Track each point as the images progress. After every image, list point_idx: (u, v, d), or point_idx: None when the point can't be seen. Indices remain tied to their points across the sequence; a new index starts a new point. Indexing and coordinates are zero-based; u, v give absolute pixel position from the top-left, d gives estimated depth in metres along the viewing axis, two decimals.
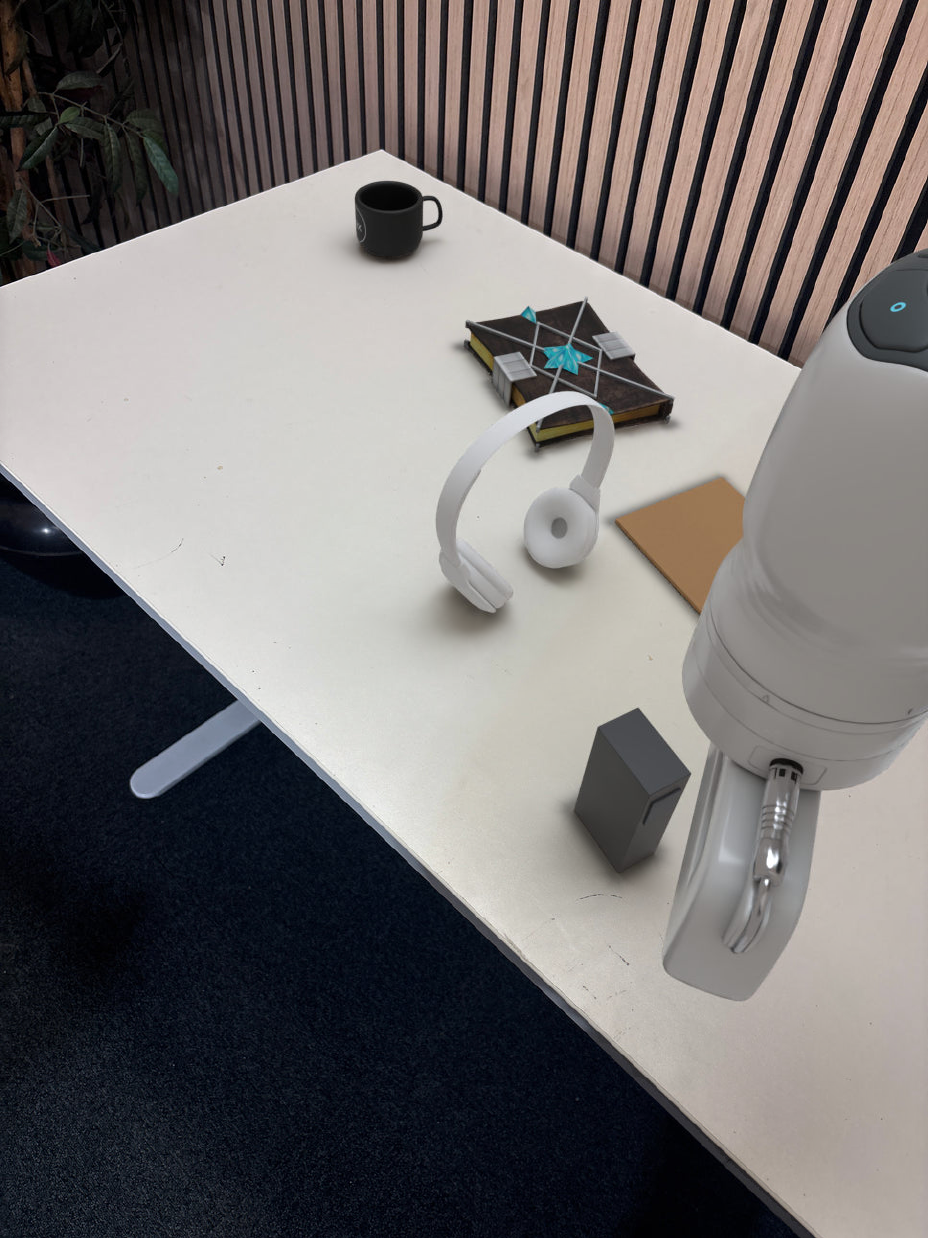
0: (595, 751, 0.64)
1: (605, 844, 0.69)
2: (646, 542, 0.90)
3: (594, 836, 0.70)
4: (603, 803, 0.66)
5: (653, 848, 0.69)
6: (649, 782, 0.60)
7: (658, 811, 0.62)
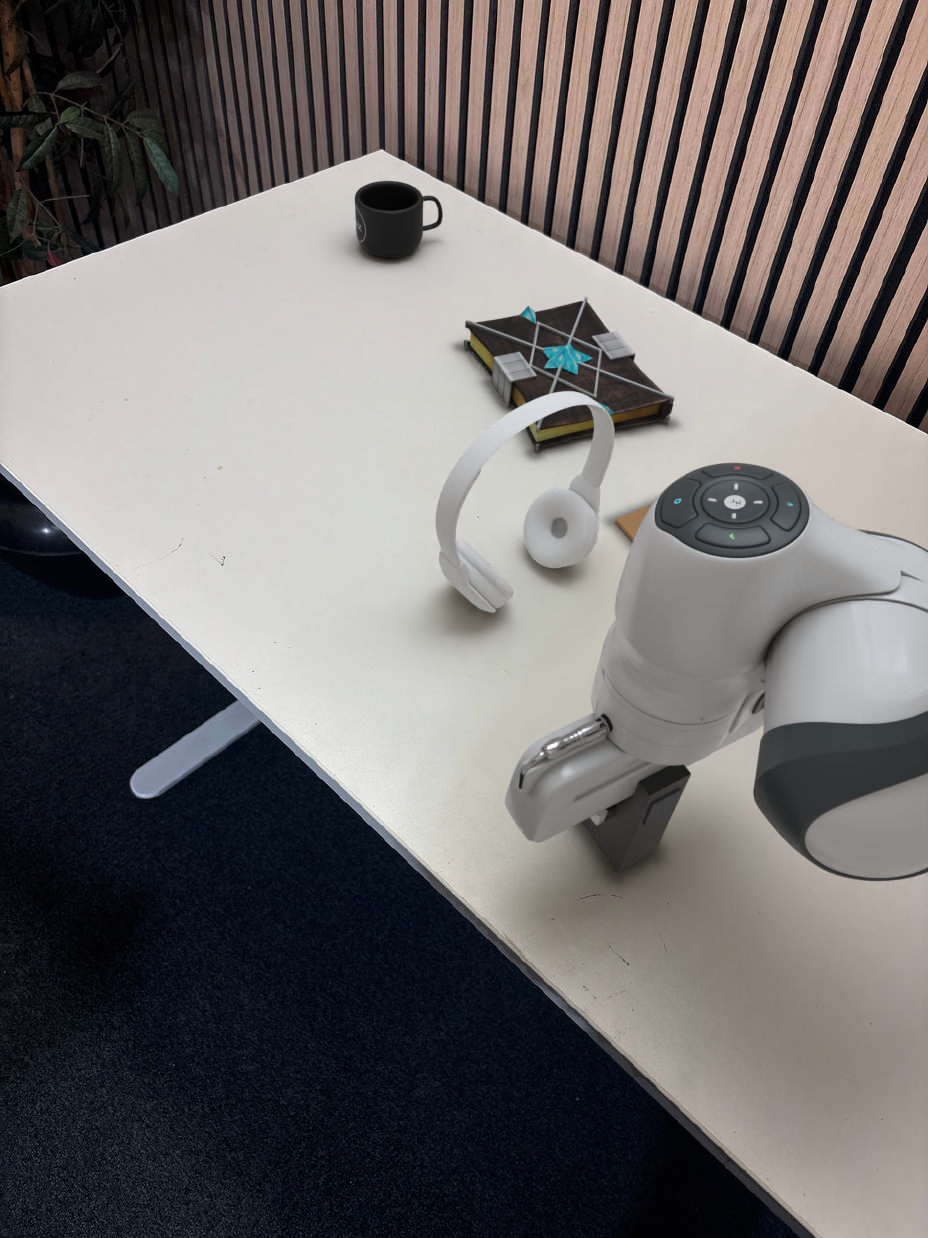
0: None
1: (605, 844, 0.69)
2: None
3: (594, 836, 0.70)
4: None
5: (653, 848, 0.69)
6: (649, 782, 0.60)
7: (658, 811, 0.62)
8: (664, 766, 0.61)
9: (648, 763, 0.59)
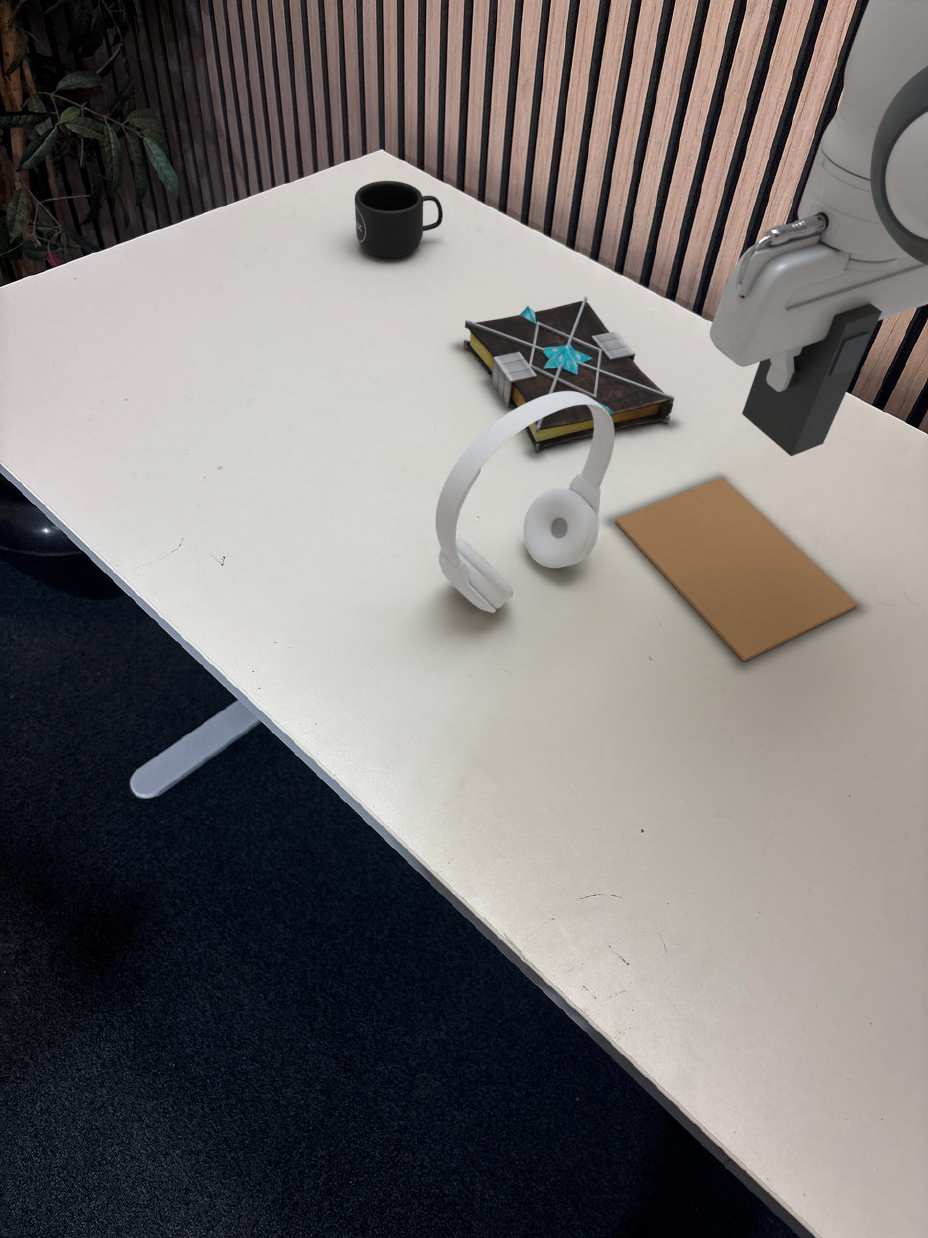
0: None
1: (779, 429, 0.73)
2: (646, 542, 0.90)
3: (765, 429, 0.74)
4: None
5: (824, 433, 0.73)
6: (844, 315, 0.64)
7: (846, 358, 0.66)
8: (857, 304, 0.64)
9: (847, 289, 0.63)
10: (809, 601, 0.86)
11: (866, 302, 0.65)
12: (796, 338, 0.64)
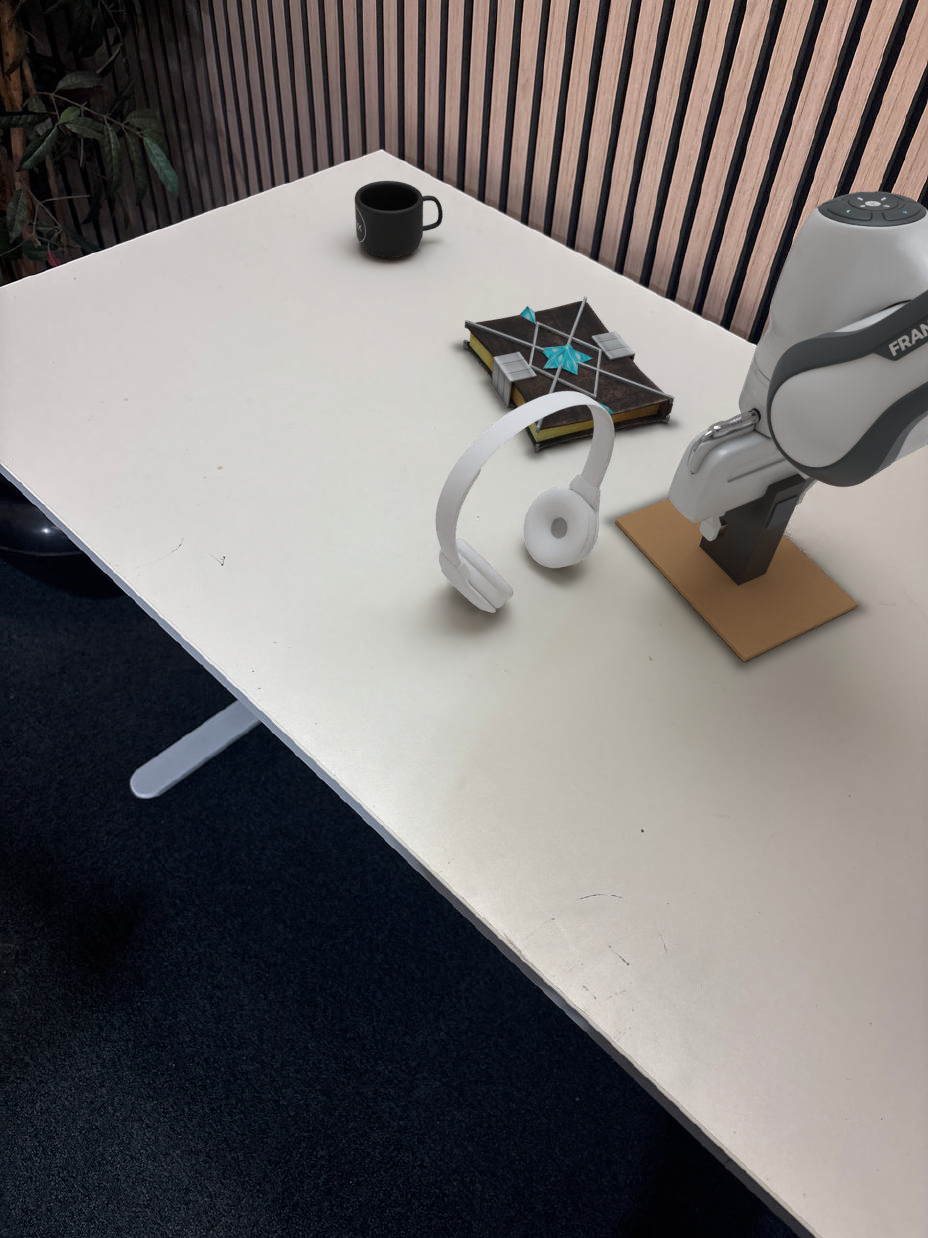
0: None
1: (728, 563, 0.87)
2: (646, 542, 0.90)
3: (717, 561, 0.89)
4: (730, 523, 0.85)
5: (766, 566, 0.87)
6: (775, 485, 0.79)
7: (779, 515, 0.81)
8: (789, 470, 0.79)
9: (780, 461, 0.77)
10: (809, 601, 0.86)
11: (797, 467, 0.79)
12: (739, 499, 0.78)
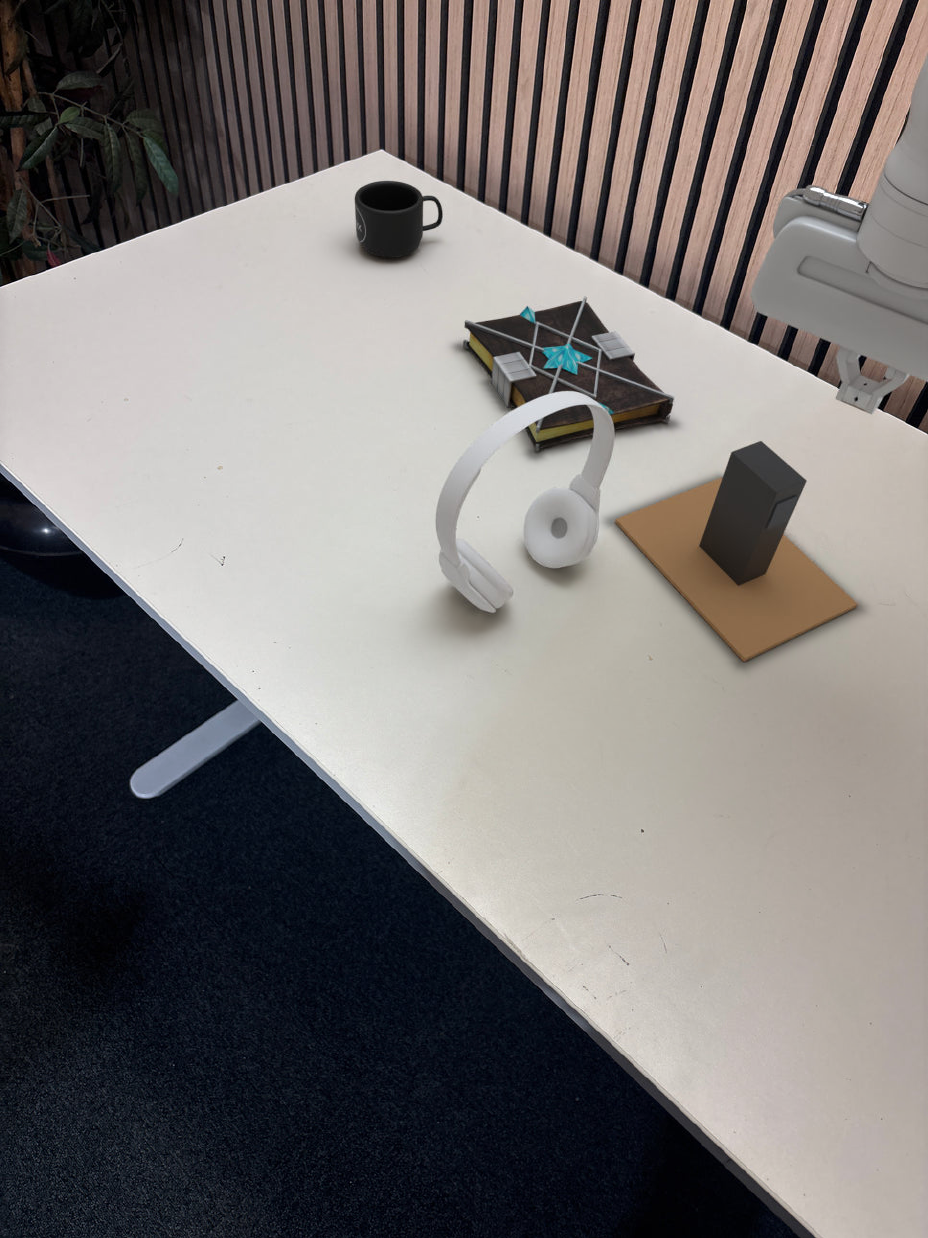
0: (727, 476, 0.83)
1: (728, 563, 0.87)
2: (646, 542, 0.90)
3: (717, 561, 0.89)
4: (730, 523, 0.85)
5: (766, 566, 0.87)
6: (775, 485, 0.79)
7: (779, 515, 0.81)
8: (888, 332, 0.63)
9: (875, 303, 0.62)
10: (809, 601, 0.86)
11: (900, 338, 0.63)
12: (811, 319, 0.66)
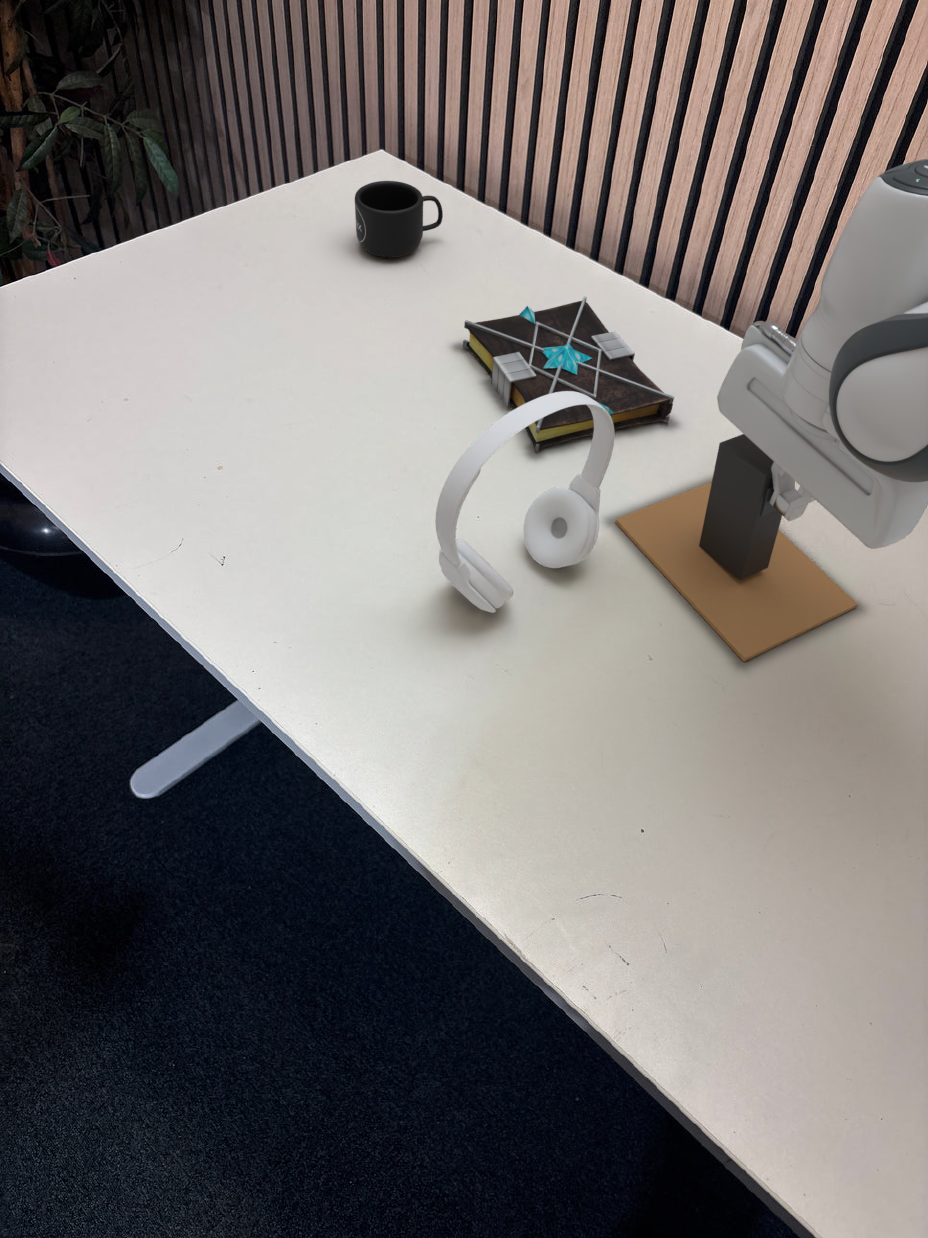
0: (718, 469, 0.84)
1: (728, 558, 0.87)
2: (646, 542, 0.90)
3: (718, 558, 0.88)
4: (726, 516, 0.85)
5: (767, 560, 0.87)
6: (764, 469, 0.79)
7: None
8: (800, 456, 0.74)
9: (794, 430, 0.74)
10: (809, 601, 0.86)
11: (807, 464, 0.73)
12: (752, 429, 0.78)
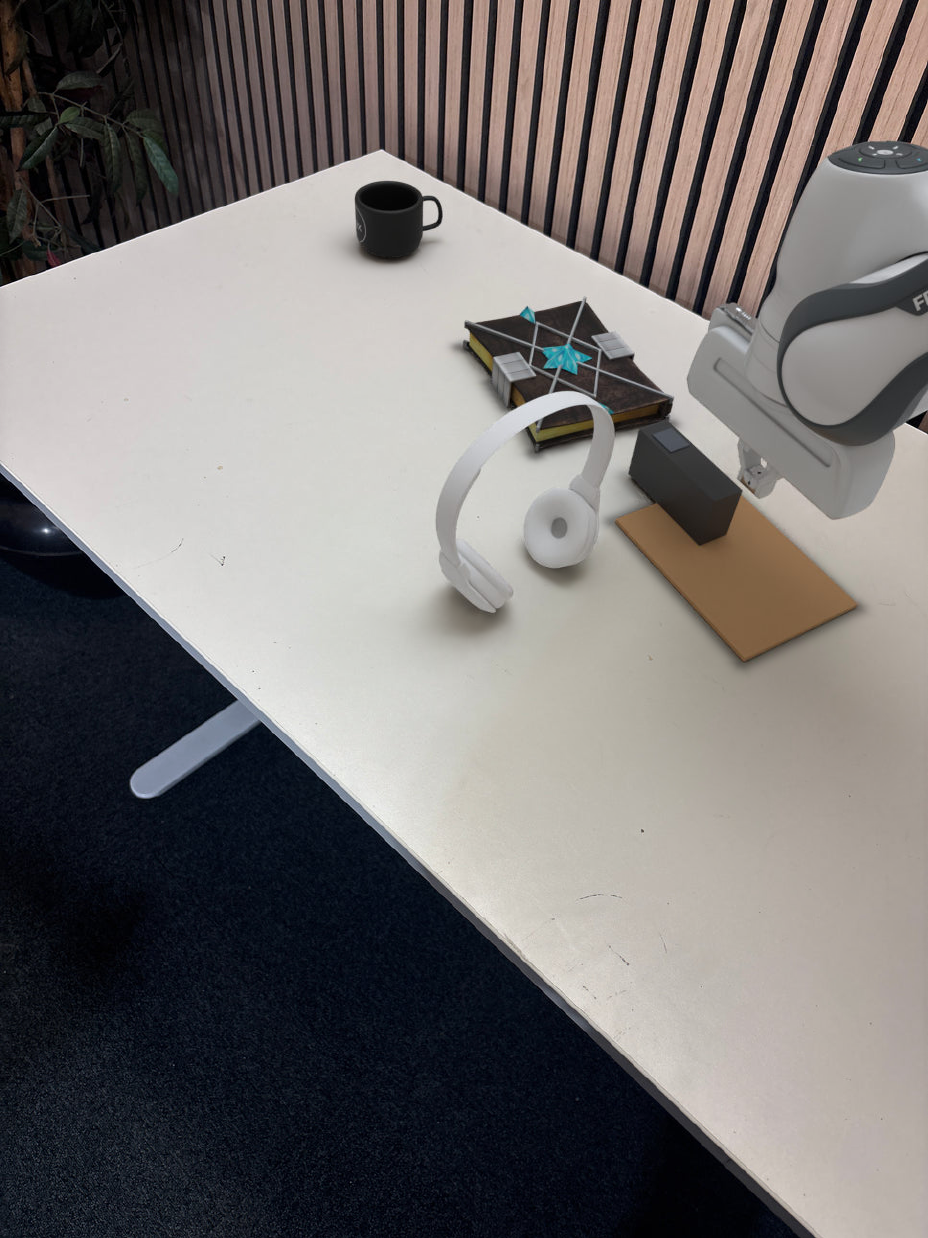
0: (643, 484, 0.95)
1: (701, 508, 0.88)
2: (646, 542, 0.90)
3: (703, 523, 0.88)
4: (671, 493, 0.91)
5: (731, 484, 0.87)
6: None
7: (669, 441, 0.91)
8: (764, 432, 0.77)
9: (758, 407, 0.76)
10: (809, 601, 0.86)
11: (771, 440, 0.76)
12: (719, 408, 0.80)
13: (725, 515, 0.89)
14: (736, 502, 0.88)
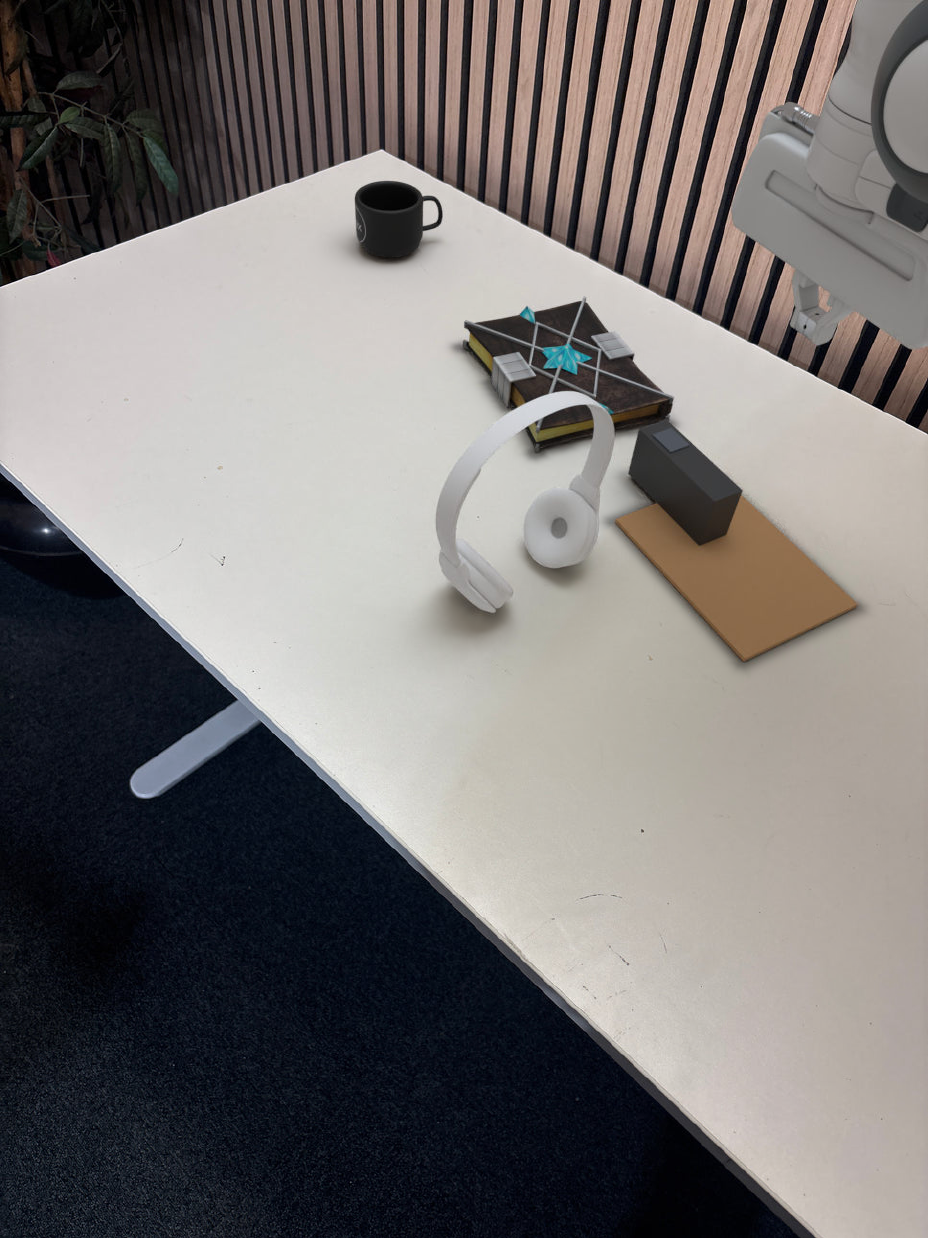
0: (643, 484, 0.95)
1: (701, 508, 0.88)
2: (646, 542, 0.90)
3: (703, 523, 0.88)
4: (671, 493, 0.91)
5: (731, 484, 0.87)
6: None
7: (669, 441, 0.91)
8: (827, 254, 0.65)
9: (820, 223, 0.64)
10: (809, 601, 0.86)
11: (836, 261, 0.64)
12: (771, 236, 0.68)
13: (725, 515, 0.89)
14: (736, 502, 0.88)
